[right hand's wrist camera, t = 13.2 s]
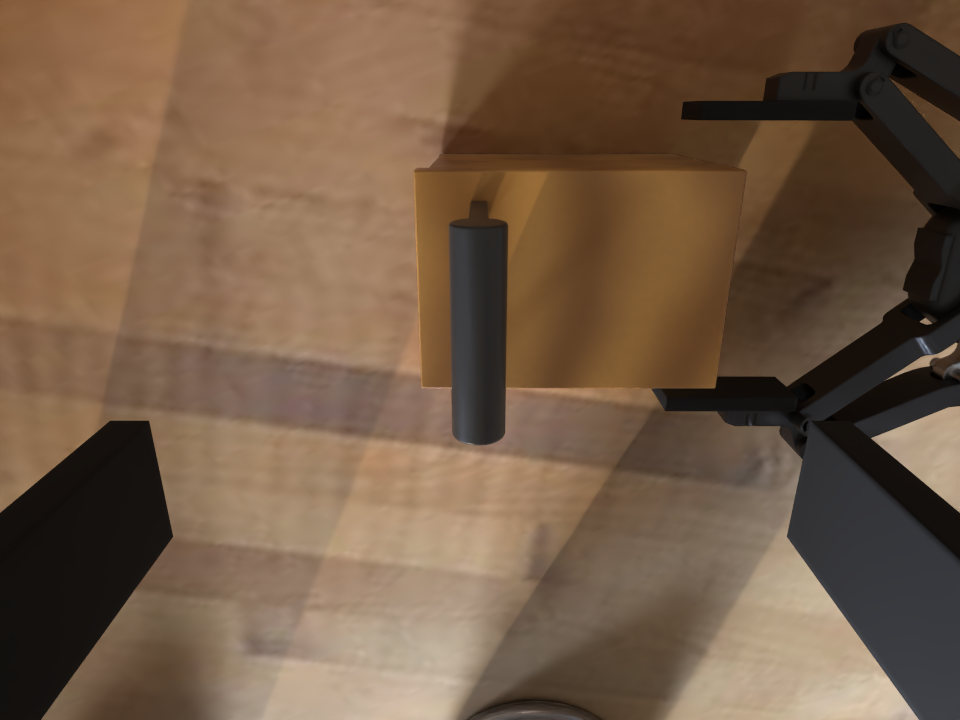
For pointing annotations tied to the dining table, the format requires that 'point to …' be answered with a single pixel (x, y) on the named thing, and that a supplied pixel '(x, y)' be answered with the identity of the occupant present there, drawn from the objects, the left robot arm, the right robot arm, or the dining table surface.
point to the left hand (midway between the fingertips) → (672, 263)
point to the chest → (570, 161)
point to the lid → (570, 281)
